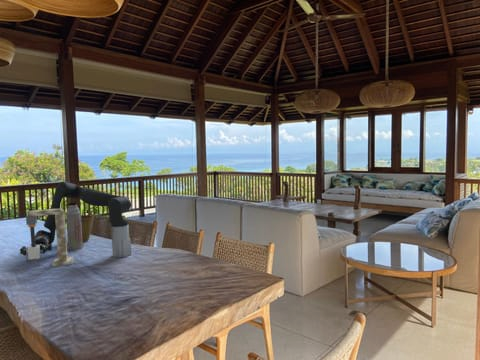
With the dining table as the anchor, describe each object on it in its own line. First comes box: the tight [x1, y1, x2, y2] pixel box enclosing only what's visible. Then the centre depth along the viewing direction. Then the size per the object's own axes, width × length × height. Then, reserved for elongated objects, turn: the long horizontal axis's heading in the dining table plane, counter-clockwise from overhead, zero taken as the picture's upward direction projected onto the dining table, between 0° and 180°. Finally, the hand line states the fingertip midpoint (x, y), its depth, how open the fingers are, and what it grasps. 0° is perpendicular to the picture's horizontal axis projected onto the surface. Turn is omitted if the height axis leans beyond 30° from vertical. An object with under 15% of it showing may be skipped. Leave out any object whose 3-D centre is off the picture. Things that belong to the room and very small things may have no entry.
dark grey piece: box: [25, 215, 40, 263], centre depth 172 cm, size 4×4×24 cm
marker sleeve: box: [27, 245, 41, 260], centre depth 173 cm, size 5×5×6 cm
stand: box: [27, 207, 74, 267], centre depth 175 cm, size 18×9×29 cm, turn 112°
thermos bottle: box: [65, 202, 84, 251], centre depth 202 cm, size 8×8×28 cm
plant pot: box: [81, 214, 94, 243], centre depth 219 cm, size 15×15×16 cm
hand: (33, 252), depth 172 cm, fingers open, 8 cm apart
